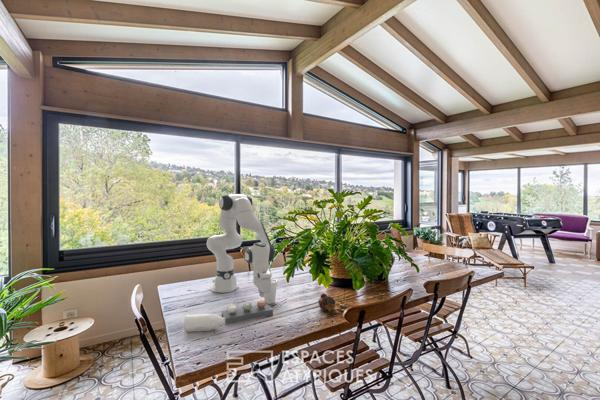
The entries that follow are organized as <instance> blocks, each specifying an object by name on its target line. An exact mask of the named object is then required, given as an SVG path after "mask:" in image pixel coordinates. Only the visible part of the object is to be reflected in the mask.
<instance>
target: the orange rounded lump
mask: <svg viewBox="0 0 600 400" xmlns="http://www.w3.org/2000/svg"><path fill="white" fill-rule="evenodd" d="M265 304H266V303H265V301H264V300H258V301H257V302H256V305H257V306H258V307H259V309H264V306H265Z"/></svg>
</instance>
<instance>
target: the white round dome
mask: <svg viewBox="0 0 600 400" xmlns="http://www.w3.org/2000/svg"><path fill="white" fill-rule="evenodd" d="M227 307H228V308H227V311H228V312H230V315H233V314H236V311H237V309H238V306H237V305H230V306H227Z"/></svg>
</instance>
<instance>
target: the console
mask: <svg viewBox="0 0 600 400" xmlns="http://www.w3.org/2000/svg"><path fill="white" fill-rule="evenodd" d="M273 315H274V309H273V308H272V307H271V306H270V304H267V303H265V306H264V309H259V307H258V306H257V304H256V305H252V308H251V309H250V311H249V312H245V310H244V309H243V307H239V308H237V311H236V314H233V315H230V312H228V310H224V311H221V317H222V318H223V317H225V325H229V324H236V323H240V322H245V321H250V320H253V319H255V320H256V319H260V318H264V317H268V316H273ZM225 325H224V326H225Z"/></svg>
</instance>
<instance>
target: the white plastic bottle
mask: <svg viewBox="0 0 600 400" xmlns="http://www.w3.org/2000/svg"><path fill="white" fill-rule="evenodd" d="M224 326H225V317H223V318H222V316H220V315H219V314H216V313H196V314H186V315H185V318H184V321H183V329H184V332H185V333H191V332H192V333H193V332H212V331H214V330H217V329H219V328H220V327H221V328H224Z"/></svg>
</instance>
